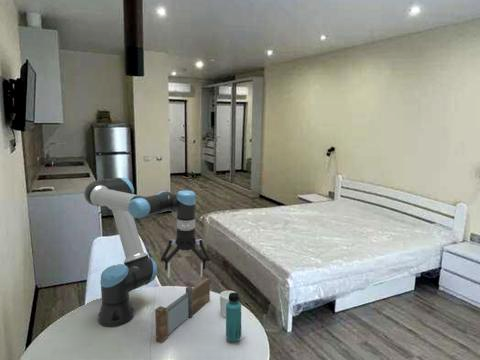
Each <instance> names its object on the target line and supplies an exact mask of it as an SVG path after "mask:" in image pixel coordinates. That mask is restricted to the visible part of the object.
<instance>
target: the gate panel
mask: <svg viewBox="0 0 480 360" xmlns="http://www.w3.org/2000/svg"><path fill="white" fill-rule="evenodd" d="M165 308H166V335H167V337H168V336H170V335H169V334H171V333H172V332H173V331H174V330H175V329H177V328H178V327H179V326H180V325H182V323H184V322H185V321H186V320H187V319H189V318H188V294H187V293H186V292H185V293H184V294H183V295H181V296H180V297H178V298H177V299H176V300H174V301H173V302H172V303H170V304H168V306H166V307H165Z"/></svg>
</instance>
